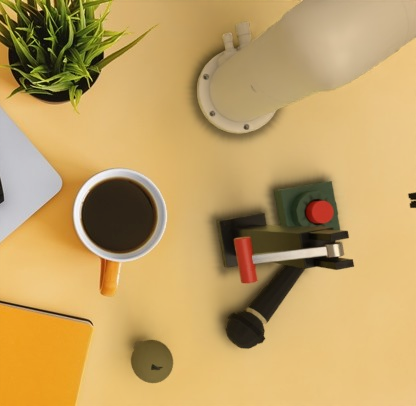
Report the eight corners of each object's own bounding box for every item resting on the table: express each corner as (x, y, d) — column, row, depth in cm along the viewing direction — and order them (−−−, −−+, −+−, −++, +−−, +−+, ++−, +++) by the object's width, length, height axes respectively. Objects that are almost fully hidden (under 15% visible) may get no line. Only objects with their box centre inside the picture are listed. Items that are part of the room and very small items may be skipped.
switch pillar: (216, 220, 82) (304, 222, 56) (261, 212, 82) (368, 211, 57) (224, 267, 82) (316, 289, 56) (269, 258, 82) (379, 277, 57)
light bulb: (127, 372, 80) (142, 394, 70) (117, 335, 80) (130, 352, 70) (163, 360, 81) (183, 381, 71) (153, 324, 81) (171, 339, 71)
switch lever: (234, 238, 63) (233, 239, 61) (338, 224, 59) (340, 225, 57) (241, 281, 63) (240, 284, 61) (346, 270, 59) (348, 273, 57)
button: (303, 203, 79) (310, 202, 77) (324, 199, 79) (331, 198, 78) (307, 224, 79) (314, 225, 77) (328, 221, 79) (335, 221, 78)
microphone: (294, 235, 86) (214, 332, 82) (307, 225, 80) (222, 328, 76) (324, 258, 84) (244, 358, 80) (339, 249, 79) (255, 355, 75)
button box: (273, 190, 83) (286, 189, 79) (323, 181, 83) (338, 180, 79) (282, 242, 83) (295, 244, 79) (332, 233, 83) (348, 234, 79)
